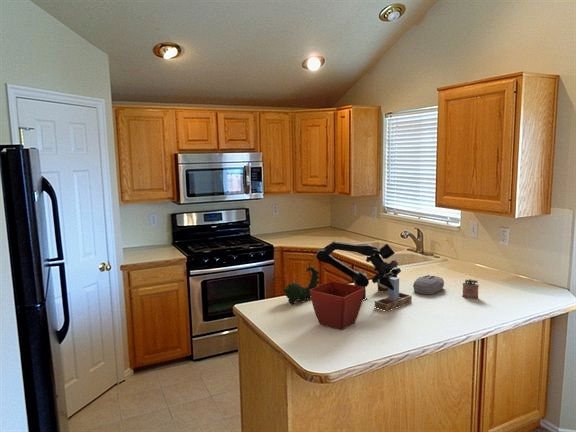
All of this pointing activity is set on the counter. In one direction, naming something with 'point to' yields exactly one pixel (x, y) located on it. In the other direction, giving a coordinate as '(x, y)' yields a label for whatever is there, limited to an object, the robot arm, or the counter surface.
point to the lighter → (470, 289)
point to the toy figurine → (301, 288)
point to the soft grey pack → (428, 284)
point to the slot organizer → (393, 302)
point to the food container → (382, 286)
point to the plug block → (394, 293)
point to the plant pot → (337, 303)
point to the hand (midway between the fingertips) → (395, 288)
